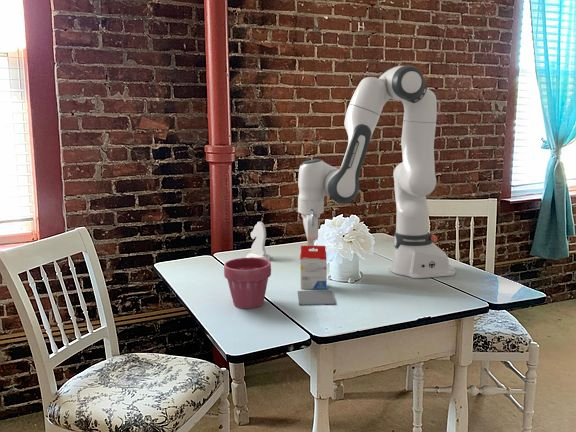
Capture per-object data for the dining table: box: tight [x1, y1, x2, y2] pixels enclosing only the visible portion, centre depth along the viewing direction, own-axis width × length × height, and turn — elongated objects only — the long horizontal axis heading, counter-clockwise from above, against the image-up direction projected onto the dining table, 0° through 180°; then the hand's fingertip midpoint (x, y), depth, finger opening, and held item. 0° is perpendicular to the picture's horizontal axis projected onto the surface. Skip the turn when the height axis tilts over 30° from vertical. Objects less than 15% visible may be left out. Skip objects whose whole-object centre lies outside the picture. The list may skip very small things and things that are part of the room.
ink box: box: [299, 244, 328, 290], centre depth 187 cm, size 8×5×15 cm, turn 84°
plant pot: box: [223, 257, 272, 309], centre depth 173 cm, size 14×14×13 cm
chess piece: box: [245, 221, 272, 261], centre depth 221 cm, size 10×10×15 cm
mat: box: [297, 290, 337, 306], centre depth 178 cm, size 11×12×1 cm
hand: (310, 246), depth 197 cm, fingers closed
